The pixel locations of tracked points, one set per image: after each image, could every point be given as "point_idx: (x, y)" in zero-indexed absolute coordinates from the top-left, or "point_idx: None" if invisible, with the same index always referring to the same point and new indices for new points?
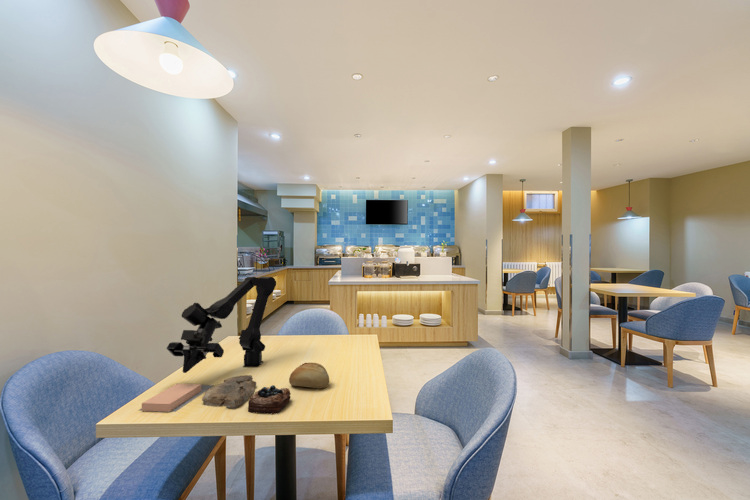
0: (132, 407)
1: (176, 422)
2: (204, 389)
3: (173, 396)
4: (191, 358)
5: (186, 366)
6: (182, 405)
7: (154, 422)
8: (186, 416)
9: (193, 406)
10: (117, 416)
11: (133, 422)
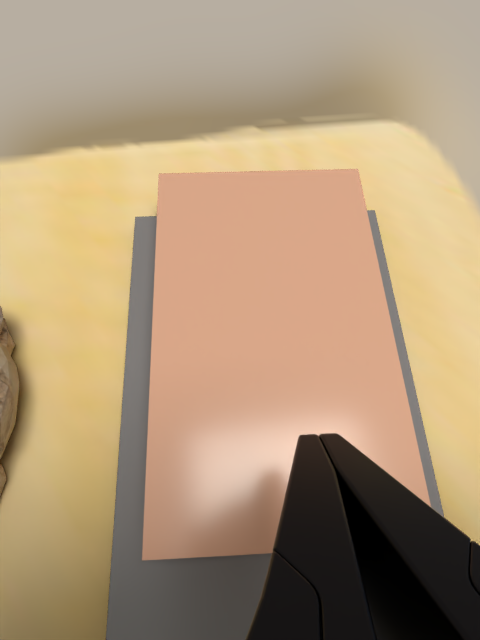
0: (467, 258)
1: (68, 152)
2: (147, 603)
3: (222, 269)
4: (313, 631)
5: (317, 475)
6: (145, 287)
7: (183, 143)
8: (50, 202)
9: (77, 309)
10: (432, 171)
11: (288, 136)
